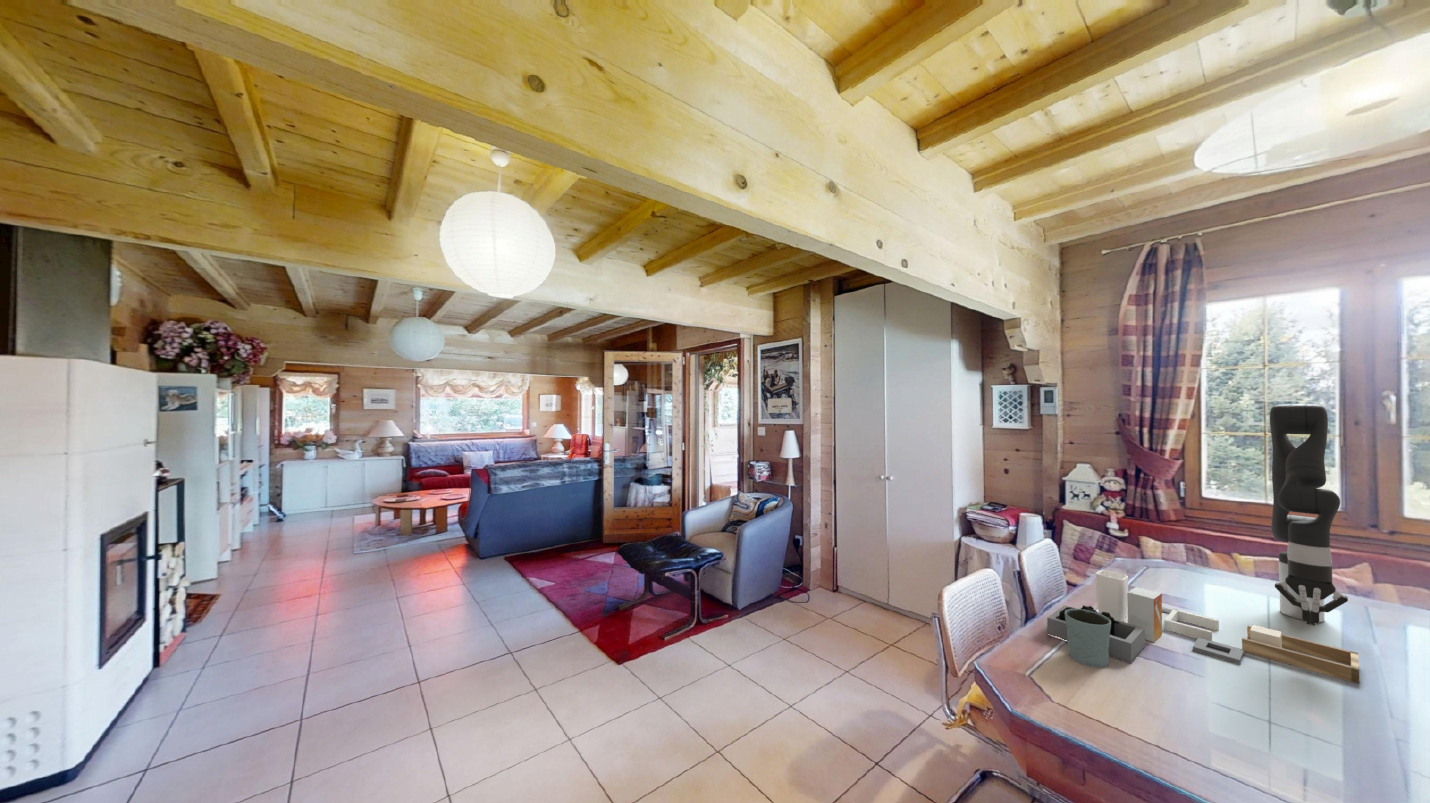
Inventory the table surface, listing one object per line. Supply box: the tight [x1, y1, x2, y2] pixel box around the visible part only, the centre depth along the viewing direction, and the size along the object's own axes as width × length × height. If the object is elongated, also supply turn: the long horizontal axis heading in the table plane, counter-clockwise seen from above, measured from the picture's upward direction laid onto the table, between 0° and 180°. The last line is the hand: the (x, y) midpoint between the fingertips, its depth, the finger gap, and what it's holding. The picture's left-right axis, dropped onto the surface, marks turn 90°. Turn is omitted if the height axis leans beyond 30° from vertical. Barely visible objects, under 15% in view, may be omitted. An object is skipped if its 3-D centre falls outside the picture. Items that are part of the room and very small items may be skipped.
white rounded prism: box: [1095, 569, 1129, 622], centre depth 153 cm, size 7×7×15 cm
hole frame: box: [1192, 637, 1245, 665], centre depth 132 cm, size 9×9×1 cm
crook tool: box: [1162, 606, 1174, 614], centre depth 154 cm, size 4×13×1 cm, turn 44°
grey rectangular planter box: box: [1046, 605, 1146, 664], centre depth 139 cm, size 15×20×6 cm
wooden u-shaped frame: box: [1241, 625, 1361, 685], centre depth 129 cm, size 13×20×4 cm
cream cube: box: [1250, 624, 1283, 648], centre depth 133 cm, size 6×6×6 cm
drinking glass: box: [1065, 608, 1111, 668], centre depth 129 cm, size 10×10×12 cm
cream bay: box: [1163, 608, 1220, 641], centre depth 145 cm, size 13×10×3 cm
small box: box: [1127, 586, 1163, 643], centre depth 142 cm, size 8×6×13 cm
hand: (1310, 623), depth 127 cm, fingers closed
